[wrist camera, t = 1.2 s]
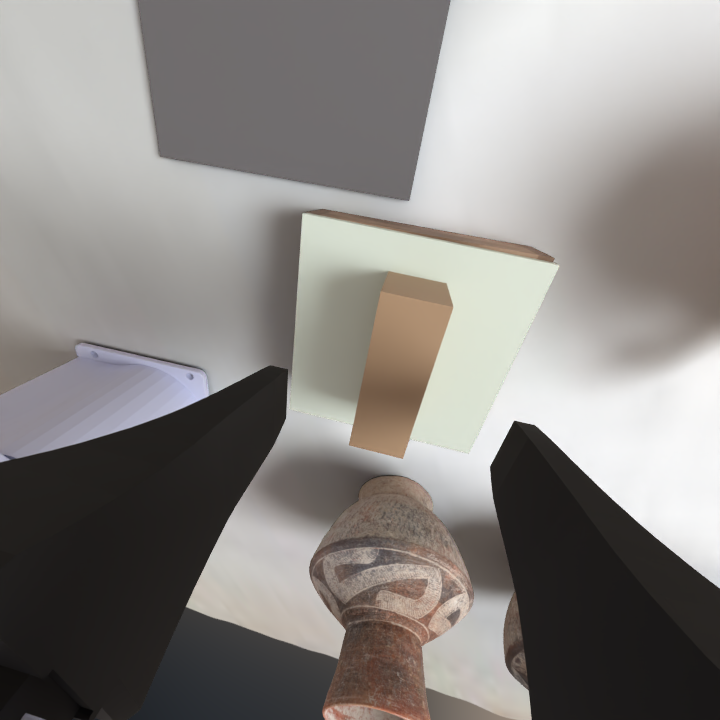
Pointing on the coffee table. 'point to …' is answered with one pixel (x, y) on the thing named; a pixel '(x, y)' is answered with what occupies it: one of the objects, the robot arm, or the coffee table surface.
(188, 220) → the coffee table surface
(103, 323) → the coffee table surface
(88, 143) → the coffee table surface
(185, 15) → the mat
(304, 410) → the lid
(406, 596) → the pottery
